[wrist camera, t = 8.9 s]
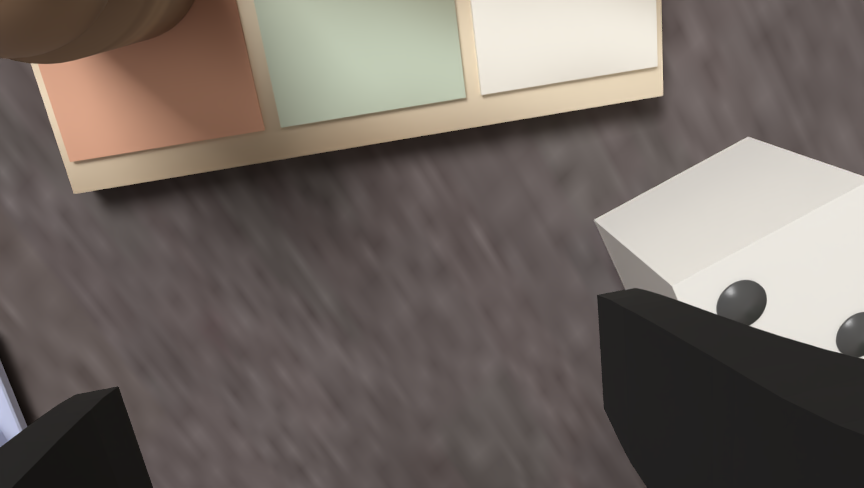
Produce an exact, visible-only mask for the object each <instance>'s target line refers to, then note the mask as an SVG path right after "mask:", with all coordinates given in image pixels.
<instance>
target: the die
mask: <svg viewBox="0 0 864 488" xmlns="http://www.w3.org/2000/svg"><path fill="white" fill-rule="evenodd" d="M594 221H595V224H596V226H597V228H598V230H599V232H600V235H601V237H602V239H603V241H604V243H605V246H606V248H607V250H608V252H609V255H610V257H611V259H612V261H613V263H614V266H615V268H616V270H617V272H618V274H619V277H620V279H621V281H622V283H623V285H624V288H625V290H627V289H632V288H639V289H643V290H647V291H651V292H654V293H657V294H661V295H664V296H667V297H669V298H672V299H675V300H678V301H681V302H684V303H687V304H689V305H692V306H695V307H698V308H700V309H703V310H706V311H709V312H711V313H714V314H717V315H720V316H723V317H725V318H728V319H731V320H734V321H737V322H740V323H743V324H746V325H748V326H751V327H754V328H757V329H760V330H763V331H767V332H770V333H773V334H776V335H779V336H782V337H786V338H789V339H792V340H796V341H799V342H802V343H806V344H809V345H812V346H816V347H819V348H823V349H826V350H830V351H834V352H838V353H842V354H845V355H849V356H853V357H858V358H862V359H864V176H861V175H858V174H855V173H852V172H849V171H846V170H844V169H841V168H838V167H835V166H832V165H829V164H826V163H823V162H820V161H817V160H814V159H812V158H809V157H806V156H803V155H800V154H797V153H794V152H791V151H788V150H785V149H782V148H779V147H777V146H774V145H771V144H768V143H765V142H762V141H759V140H756V139H753V138H750V137H747V138H745V139H743V140H741V141H739V142H737V143H736V144H734V145H732V146H730V147H728V148H726V149H724V150H723V151H721V152H719V153H717V154H715V155H713V156H711V157H710V158H708V159H706V160H704V161H702V162H700V163H698V164H697V165H695V166H693V167H691V168H689V169H687V170H686V171H684V172H682V173H680V174H678V175H676V176H674V177H673V178H671V179H669V180H667V181H665V182H663V183H661V184H660V185H658V186H656V187H654V188H652V189H650V190H648V191H647V192H645V193H643V194H641V195H639V196H637V197H635V198H634V199H632V200H630V201H628V202H626V203H624V204H622V205H621V206H619V207H617V208H615V209H613V210H611V211H609V212H608V213H606V214H604V215H602V216H600V217H598V218H596V219H595V220H594Z"/></svg>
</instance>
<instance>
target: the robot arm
mask: <svg viewBox="0 0 864 488" xmlns="http://www.w3.org/2000/svg"><path fill="white" fill-rule="evenodd" d="M597 298H598V315H599V332H600V349H601V366H602V383H603V400H604V409H605V412H606V414H607V416H608V418H609V420H610V422H611V424H612V426H613V428H614V431H615V433H616V435H617V437H618V439H619V441H620V443H621V445H622V447H623V449H624V451H625V453H626V455H627V457H628V458H629V460H630V462H631V464H632V465H633V467H634V468H635V470H636V471H637V473H638V474H639V476H640V477H641V479H642V480H643V482H644V483H645V485H646V486H647V488H864V359H862V358H858V357H853V356H849V355H845V354H842V353H838V352H834V351H830V350H826V349H823V348H819V347H816V346H812V345H809V344H806V343H802V342H799V341H796V340H792V339H789V338H786V337H782V336H779V335H776V334H773V333H770V332H767V331H763V330H760V329H757V328H754V327H751V326H748V325H746V324H743V323H740V322H737V321H734V320H731V319H728V318H725V317H723V316H720V315H717V314H714V313H711V312H709V311H706V310H703V309H700V308H698V307H695V306H692V305H689V304H687V303H684V302H681V301H678V300H675V299H672V298H669V297H667V296H664V295H661V294H657V293H654V292H651V291H647V290H643V289H639V288H632V289H627V290H622V291H616V292H611V293H606V294H601V295H597ZM0 488H153V486H152V483H151V480H150V477H149V475H148V472H147V469H146V466H145V463H144V460H143V457H142V454H141V451H140V448H139V445H138V442H137V440H136V437H135V434H134V431H133V428H132V425H131V422H130V419H129V416H128V413H127V410H126V407H125V405H124V402H123V399H122V396H121V393H120V390H119V387H113V388H108V389H103V390H98V391H92V392H87V393H82V394H77V395H74V396H72V397H71V398H69V399H67V400H65V401H64V402H62V403H60V404H59V405H57V406H56V407H54V408H53V409H51V410H50V411H48V412H47V413H46V414H44V415H43V416H41V417H40V418H39V419H37V420H36V421H35V422H33V423H32V424H30V425H29V426H28V427H27V425H26V422H25V420H24V417H23V415H22V412H21V410H20V407H19V405H18V402H17V400H16V397H15V395H14V392H13V390H12V388H11V385H10V383H9V380H8V378H7V375H6V373H5V370H4V368H3V365H2V363H1V360H0Z"/></svg>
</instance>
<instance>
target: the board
mask: <svg viewBox="0 0 864 488" xmlns="http://www.w3.org/2000/svg"><path fill="white" fill-rule="evenodd" d="M31 65H32V68H33V71H34V74H35V77H36V80H37V83H38V87H39V90H40V93H41V96H42V99H43V102H44V105H45V108H46V111H47V114H48V117H49V120H50V123H51V126H52V129H53V132H54V135H55V138H56V141H57V144H58V147H59V150H60V153H61V156H62V159H63V162H64V165H65V168H66V171H67V174H68V177H69V180H70V183H71V186H72V189H73V192H74V194H77V193H83V192H89V191H95V190H101V189H107V188H113V187H119V186H125V185H131V184H137V183H143V182H149V181H155V180H161V179H167V178H173V177H179V176H185V175H191V174H197V173H203V172H209V171H215V170H221V169H227V168H233V167H239V166H245V165H251V164H257V163H263V162H269V161H275V160H281V159H287V158H293V157H299V156H305V155H311V154H317V153H323V152H329V151H335V150H341V149H347V148H353V147H359V146H365V145H371V144H377V143H383V142H389V141H395V140H401V139H407V138H413V137H419V136H425V135H431V134H437V133H443V132H449V131H455V130H461V129H467V128H473V127H479V126H485V125H491V124H497V123H503V122H509V121H515V120H521V119H527V118H533V117H539V116H545V115H550V114H556V113H562V112H568V111H574V110H580V109H586V108H592V107H598V106H604V105H610V104H616V103H622V102H628V101H634V100H640V99H646V98H652V97H658V96H663V62H662V12H661V0H195V1H194V3H193V5H192V7H191V8H190V10H189V11H188V13H187V14H186V15H185V17H184V18H183V19H182V20H181V21H180V22H179V23H178V24H177V25H176V26H174V27H173V28H172V29H170V30H169V31H167V32H165V33H163V34H162V35H160V36H157V37H154V38H152V39H149V40H145V41H142V42H138V43H135V44H131V45H127V46H124V47H120V48H117V49H113V50H110V51H106V52H103V53H99V54H96V55H92V56H88V57H85V58H81V59H78V60H74V61H69V62H64V63H55V64H34V63H31Z"/></svg>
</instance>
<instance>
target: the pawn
mask: <svg viewBox="0 0 864 488" xmlns="http://www.w3.org/2000/svg"><path fill="white" fill-rule="evenodd" d="M194 1H195V0H0V58H6V59H11V60H15V61H20V62H26V63H34V64H55V63H64V62H69V61H74V60H78V59H81V58H85V57H88V56H92V55H96V54H99V53H103V52H106V51H110V50H113V49H117V48H120V47H124V46H127V45H131V44H135V43H138V42H142V41H145V40H149V39H152V38H154V37H157V36H160V35H162V34H163V33H165V32H167V31H169V30H170V29H172V28H173V27H174V26H176V25H177V24H178V23H179V22H180V21H181V20H182V19H183V18H184V17H185V15H186V14H187V13H188V11H189V10H190V8H191V7H192V5H193V3H194Z"/></svg>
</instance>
